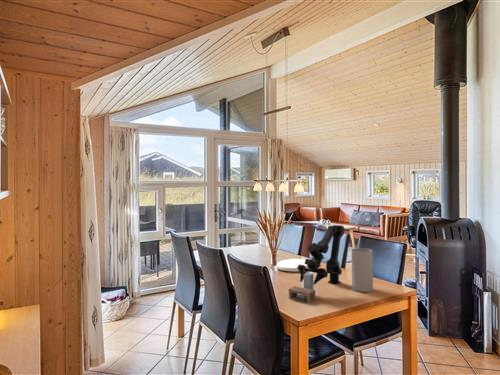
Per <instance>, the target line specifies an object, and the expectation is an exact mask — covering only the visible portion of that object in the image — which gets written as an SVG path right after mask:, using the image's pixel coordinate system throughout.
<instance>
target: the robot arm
mask: <svg viewBox="0 0 500 375" xmlns="http://www.w3.org/2000/svg"><path fill="white" fill-rule="evenodd" d="M345 231H346V230H345V227H344V225H340V224H339V225H338V224H334V225H328V227H327V230H326V232H325V233H324V235H323V237H322V239H321V240H319V241H317V243H316V242H312V243H311V244H309V245H308V246H307V252H308V253H309V254H310V256H311V257H312V259H309V258H305V259H304V260H305V264H307V267H309V268H306V267H305V266H304V265H298V267H297V268H298V270H299V271H298V272H300V276H299V278H300V279H299V282H304V274H306V273H313V274H314V273H315V274H316V276H315V277H314V278H315V279H313V282H314V286H315V285H316V284H317V283H318V282H320V281H322V279H325V278H328V275H329V281H327V283H328V284H332V285H338V284H340V283H342V281H341V280H340V275H342V273H343V272H342V271H343V270H342V268H341V267H340V262H339V251H340V247H341V246H340V245H341V244H340V243H341V240H342V237H343V236H344V233H345ZM331 240H332V242H331ZM330 243H332V244H331V250H330V251H331V252H330V258H329V259H327V260H326V265H325V268H323V267H321V266H322V265H321V264H322V261H323V260H325V257H324V254H327V253H328V251H329V244H330Z"/></svg>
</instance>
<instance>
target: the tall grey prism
mask: <svg viewBox="0 0 500 375" xmlns="http://www.w3.org/2000/svg"><path fill="white" fill-rule="evenodd" d="M314 286H315V285H314V273H311V272H307V273H306V274H304V279H303V288H307V289H311V290H315V289H314V288H315V287H314ZM297 295H298V296H296V297H297V298H301V299H305V300H307V296H306V295H302V294H297Z"/></svg>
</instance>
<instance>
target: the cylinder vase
mask: <svg viewBox="0 0 500 375" xmlns="http://www.w3.org/2000/svg"><path fill="white" fill-rule="evenodd" d="M350 250H351V283H352V284H351V286H352V287H351V288H352V289H353V290H354V291H355V292H359V293H370V292H372V291H373V290H374V268H373V266H374V265H373V250H372V249H370V248H364V247H357V248H356V247H354V248H351V249H350Z"/></svg>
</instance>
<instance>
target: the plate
mask: <svg viewBox="0 0 500 375" xmlns="http://www.w3.org/2000/svg"><path fill="white" fill-rule="evenodd" d="M305 260H306V259H302V258H289V259H282V260H280V261H278V262H277V263H276V268H277V269H279V270H280V271H284V272H297V273H298V272H300V271H299V270H298V268H297V267H298V265H304V266H305V267H306V268H309V267H307V264H305Z"/></svg>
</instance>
